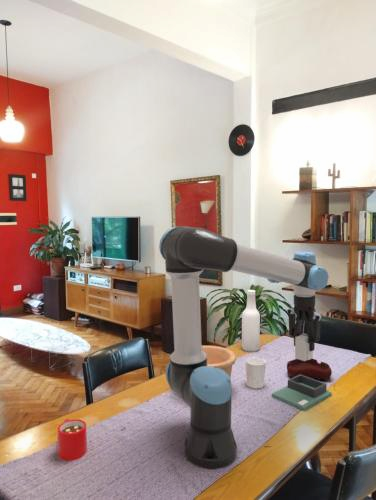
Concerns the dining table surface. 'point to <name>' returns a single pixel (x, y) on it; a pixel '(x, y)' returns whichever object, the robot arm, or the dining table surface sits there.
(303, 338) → the plug
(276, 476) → the dining table surface
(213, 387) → the robot arm
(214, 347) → the pottery
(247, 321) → the alcohol
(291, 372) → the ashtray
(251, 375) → the white cup
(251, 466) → the dining table surface
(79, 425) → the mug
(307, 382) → the board
